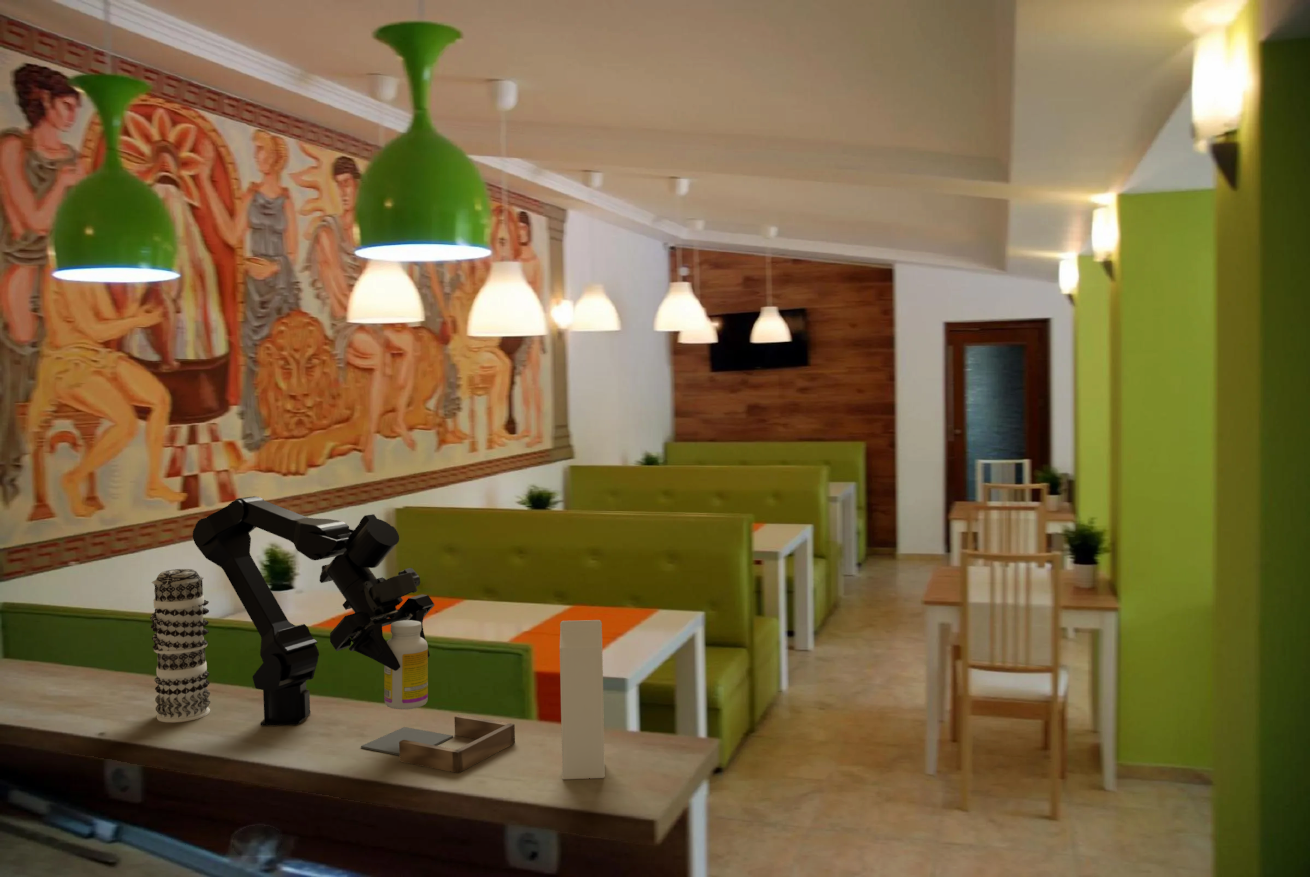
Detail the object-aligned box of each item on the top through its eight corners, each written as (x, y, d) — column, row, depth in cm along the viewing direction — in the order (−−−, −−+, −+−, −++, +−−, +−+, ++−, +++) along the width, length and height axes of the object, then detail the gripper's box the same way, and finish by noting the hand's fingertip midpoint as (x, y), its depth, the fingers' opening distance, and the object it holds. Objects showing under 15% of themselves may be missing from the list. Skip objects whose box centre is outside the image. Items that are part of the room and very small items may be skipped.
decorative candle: (222, 713, 181) (216, 570, 179) (167, 727, 174) (161, 578, 173) (199, 703, 187) (194, 564, 186) (145, 715, 180) (139, 572, 179)
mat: (360, 748, 162) (360, 746, 162) (404, 728, 171) (404, 726, 171) (410, 757, 157) (410, 755, 157) (453, 737, 166) (452, 735, 166)
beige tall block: (604, 778, 148) (602, 625, 147) (561, 780, 148) (559, 626, 146) (604, 763, 154) (602, 615, 153) (563, 764, 154) (560, 616, 152)
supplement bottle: (435, 700, 166) (435, 620, 165) (414, 712, 160) (415, 629, 159) (397, 696, 168) (397, 617, 167) (375, 708, 161) (376, 626, 161)
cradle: (399, 761, 156) (399, 741, 156) (458, 733, 168) (458, 714, 168) (458, 773, 151) (458, 752, 151) (515, 743, 163) (514, 724, 163)
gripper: (343, 563, 156) (400, 646, 152) (425, 545, 172) (479, 619, 168) (305, 609, 160) (360, 691, 156) (388, 587, 177) (440, 661, 172)
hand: (413, 663), depth 163 cm, fingers closed on supplement bottle, 6 cm apart
